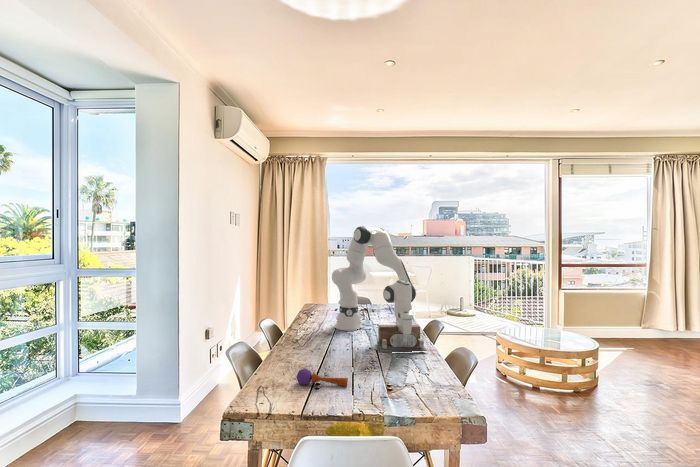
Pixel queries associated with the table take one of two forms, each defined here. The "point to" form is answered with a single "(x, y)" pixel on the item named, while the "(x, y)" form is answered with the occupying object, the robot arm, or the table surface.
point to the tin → (402, 339)
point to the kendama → (317, 378)
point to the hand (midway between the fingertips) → (402, 339)
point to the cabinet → (387, 348)
